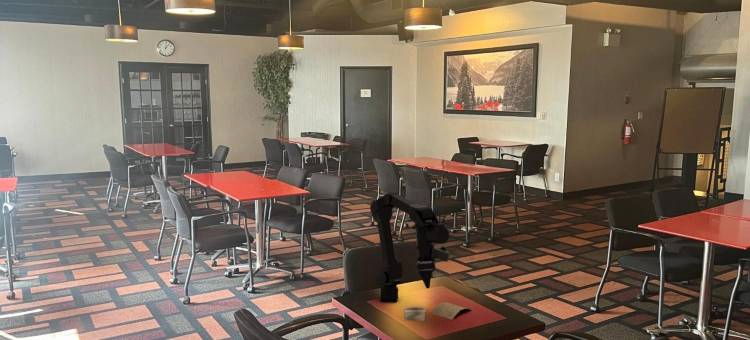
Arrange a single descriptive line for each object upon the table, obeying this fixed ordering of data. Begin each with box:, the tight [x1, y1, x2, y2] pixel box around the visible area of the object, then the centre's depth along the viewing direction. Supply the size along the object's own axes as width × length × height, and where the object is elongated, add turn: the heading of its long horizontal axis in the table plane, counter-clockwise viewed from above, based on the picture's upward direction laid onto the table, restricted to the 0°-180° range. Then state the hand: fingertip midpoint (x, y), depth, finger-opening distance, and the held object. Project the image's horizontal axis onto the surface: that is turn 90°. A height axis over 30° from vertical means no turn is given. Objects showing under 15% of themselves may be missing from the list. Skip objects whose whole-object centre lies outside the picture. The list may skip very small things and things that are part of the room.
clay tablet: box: [431, 302, 471, 321], centre depth 216 cm, size 14×10×3 cm
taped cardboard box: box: [403, 306, 426, 322], centre depth 210 cm, size 7×5×4 cm
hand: (428, 285), depth 208 cm, fingers open, 9 cm apart
